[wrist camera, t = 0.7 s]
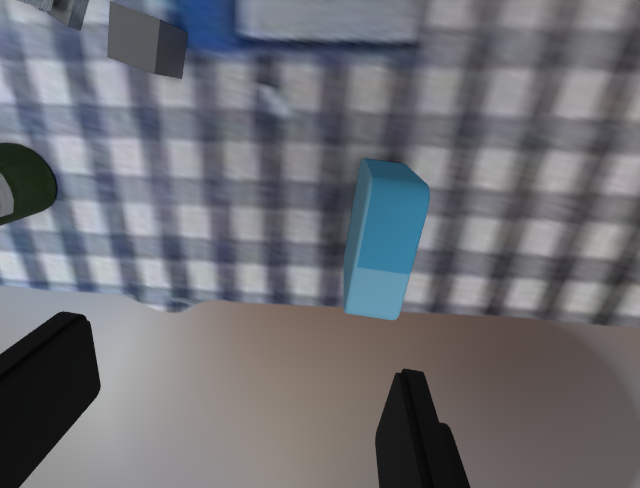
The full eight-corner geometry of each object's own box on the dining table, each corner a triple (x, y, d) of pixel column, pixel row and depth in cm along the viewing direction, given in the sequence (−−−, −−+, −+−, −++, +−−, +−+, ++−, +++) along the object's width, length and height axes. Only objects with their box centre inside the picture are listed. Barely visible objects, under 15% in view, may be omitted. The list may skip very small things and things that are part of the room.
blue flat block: (381, 264, 38) (396, 329, 27) (343, 259, 38) (342, 321, 27) (404, 161, 33) (434, 188, 22) (361, 155, 33) (369, 179, 22)
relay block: (146, 17, 30) (110, 1, 25) (188, 32, 30) (160, 19, 25) (142, 64, 31) (107, 57, 27) (182, 78, 31) (154, 73, 27)
